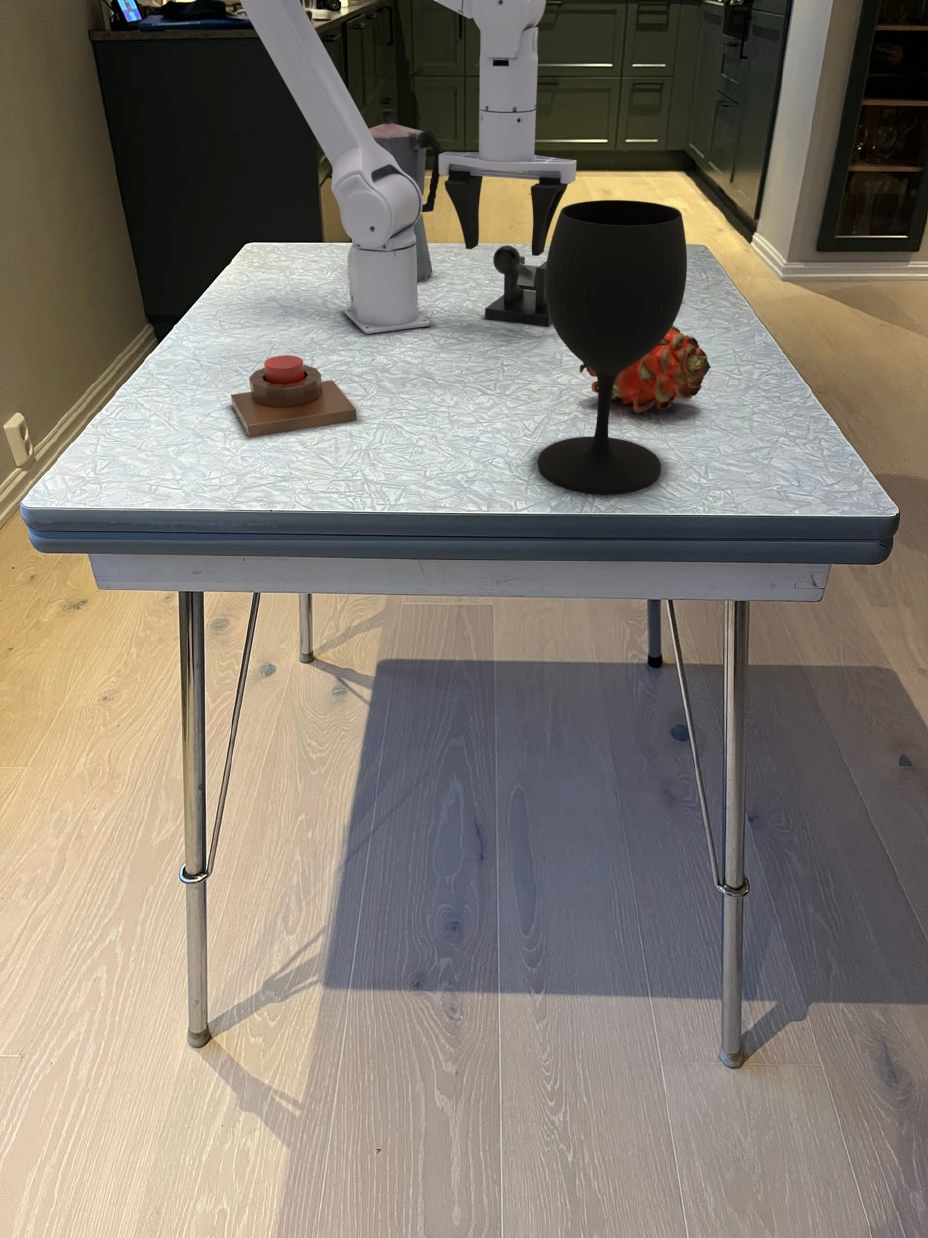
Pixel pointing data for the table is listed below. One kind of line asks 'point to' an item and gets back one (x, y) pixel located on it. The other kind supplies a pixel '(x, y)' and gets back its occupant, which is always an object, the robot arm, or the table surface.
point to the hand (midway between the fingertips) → (504, 250)
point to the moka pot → (412, 172)
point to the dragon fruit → (661, 374)
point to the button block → (291, 404)
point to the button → (284, 369)
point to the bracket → (521, 301)
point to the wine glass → (611, 322)
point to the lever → (515, 267)
